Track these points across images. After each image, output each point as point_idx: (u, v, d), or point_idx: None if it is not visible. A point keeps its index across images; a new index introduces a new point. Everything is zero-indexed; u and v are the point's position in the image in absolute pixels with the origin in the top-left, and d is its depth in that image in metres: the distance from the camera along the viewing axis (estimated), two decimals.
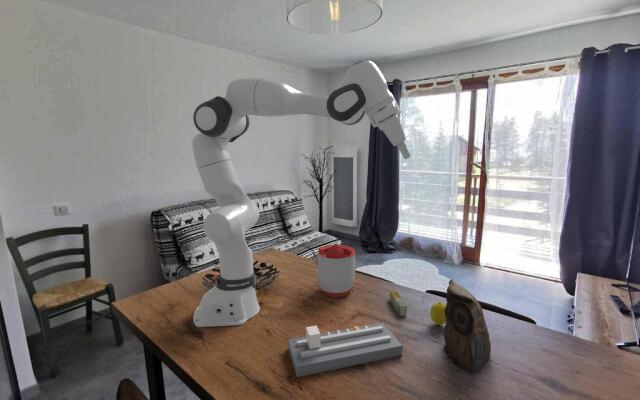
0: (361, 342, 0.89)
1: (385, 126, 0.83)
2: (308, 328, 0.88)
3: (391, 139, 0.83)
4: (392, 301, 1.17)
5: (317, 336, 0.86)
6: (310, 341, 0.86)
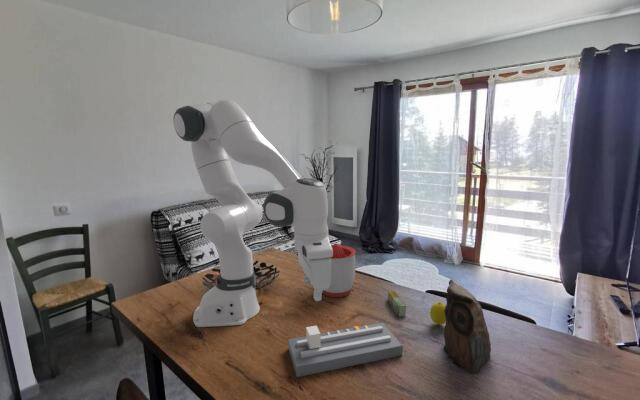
0: (361, 342, 0.89)
1: (316, 268, 0.74)
2: (308, 328, 0.88)
3: (316, 284, 0.74)
4: (390, 301, 1.17)
5: (317, 336, 0.86)
6: (310, 341, 0.86)
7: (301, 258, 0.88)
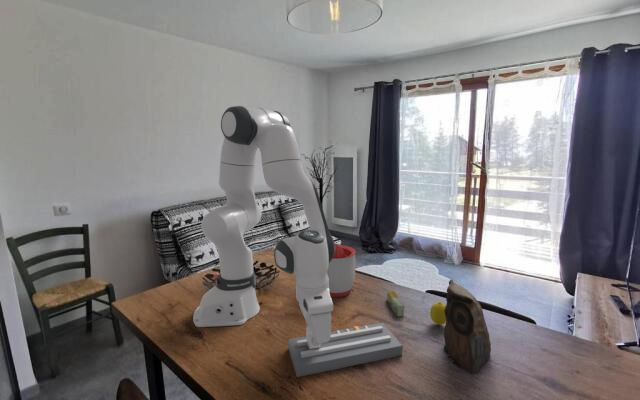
0: (361, 342, 0.89)
1: (317, 323, 0.77)
2: (308, 328, 0.88)
3: (317, 338, 0.77)
4: (389, 301, 1.17)
5: None
6: (310, 341, 0.86)
7: None
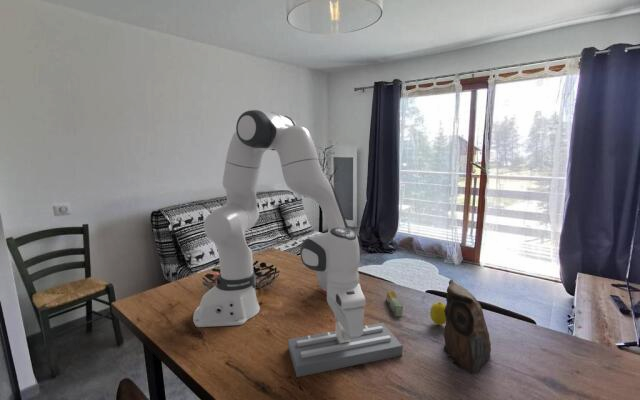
0: (361, 342, 0.89)
1: (351, 317, 0.79)
2: (337, 323, 0.91)
3: (350, 332, 0.79)
4: (388, 301, 1.17)
5: None
6: (340, 336, 0.88)
7: (331, 300, 0.93)
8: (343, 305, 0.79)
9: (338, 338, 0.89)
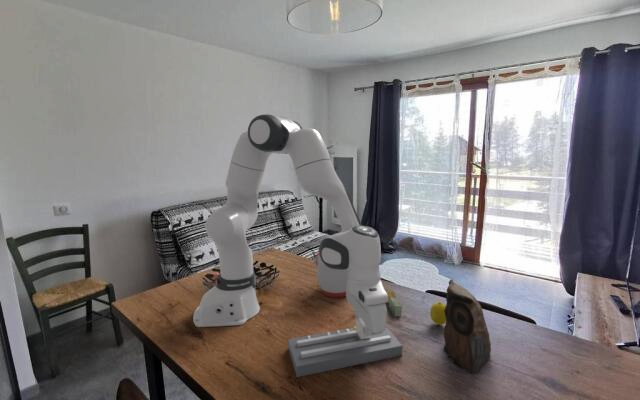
0: (361, 342, 0.89)
1: (374, 313, 0.81)
2: (358, 319, 0.92)
3: (374, 328, 0.81)
4: (388, 301, 1.17)
5: None
6: (362, 332, 0.90)
7: (351, 297, 0.95)
8: (367, 301, 0.81)
9: (359, 334, 0.91)
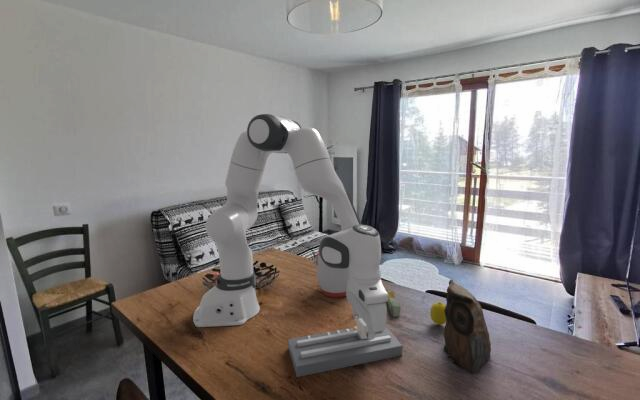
0: (361, 342, 0.89)
1: (374, 312, 0.81)
2: (359, 319, 0.92)
3: (374, 327, 0.81)
4: (387, 301, 1.17)
5: None
6: (362, 332, 0.90)
7: (351, 296, 0.95)
8: (367, 300, 0.81)
9: (360, 334, 0.91)
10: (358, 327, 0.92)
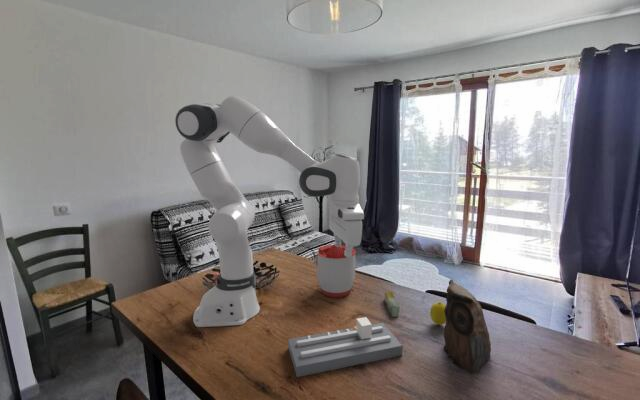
0: (361, 342, 0.89)
1: (350, 227, 0.89)
2: (359, 319, 0.92)
3: (349, 240, 0.90)
4: (386, 301, 1.17)
5: (369, 327, 0.90)
6: (362, 332, 0.90)
7: (333, 223, 1.03)
8: (344, 216, 0.89)
9: (360, 334, 0.91)
10: (358, 327, 0.92)
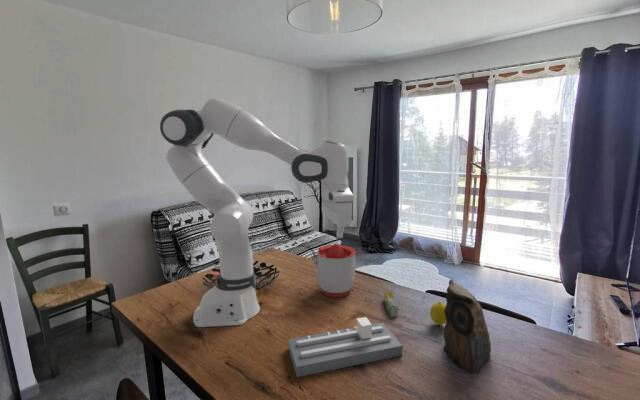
0: (361, 342, 0.89)
1: (341, 208, 0.95)
2: (359, 319, 0.92)
3: (340, 221, 0.95)
4: (385, 301, 1.17)
5: (369, 327, 0.90)
6: (362, 332, 0.90)
7: (325, 208, 1.09)
8: (334, 198, 0.95)
9: (360, 334, 0.91)
10: (358, 327, 0.92)
